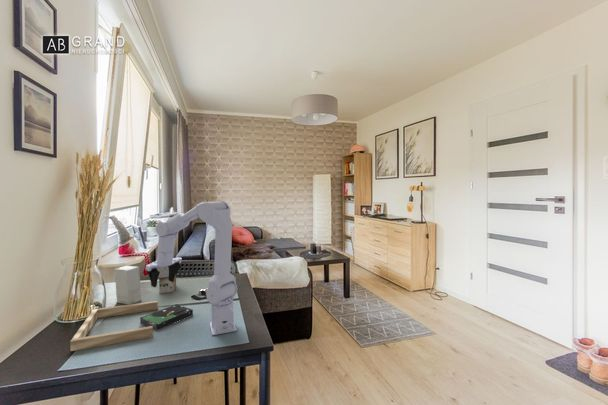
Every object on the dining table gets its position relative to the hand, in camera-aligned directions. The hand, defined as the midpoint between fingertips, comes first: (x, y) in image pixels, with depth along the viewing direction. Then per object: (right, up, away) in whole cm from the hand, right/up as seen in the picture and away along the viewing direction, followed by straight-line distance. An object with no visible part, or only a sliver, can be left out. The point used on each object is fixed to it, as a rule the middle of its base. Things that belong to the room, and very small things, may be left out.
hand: (162, 283), depth 115 cm
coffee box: (-9, -10, +24) cm, 27 cm away
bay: (-7, -11, -14) cm, 19 cm away
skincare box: (-19, -10, +9) cm, 23 cm away
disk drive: (+6, -12, -8) cm, 15 cm away
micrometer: (+12, -10, +18) cm, 24 cm away
